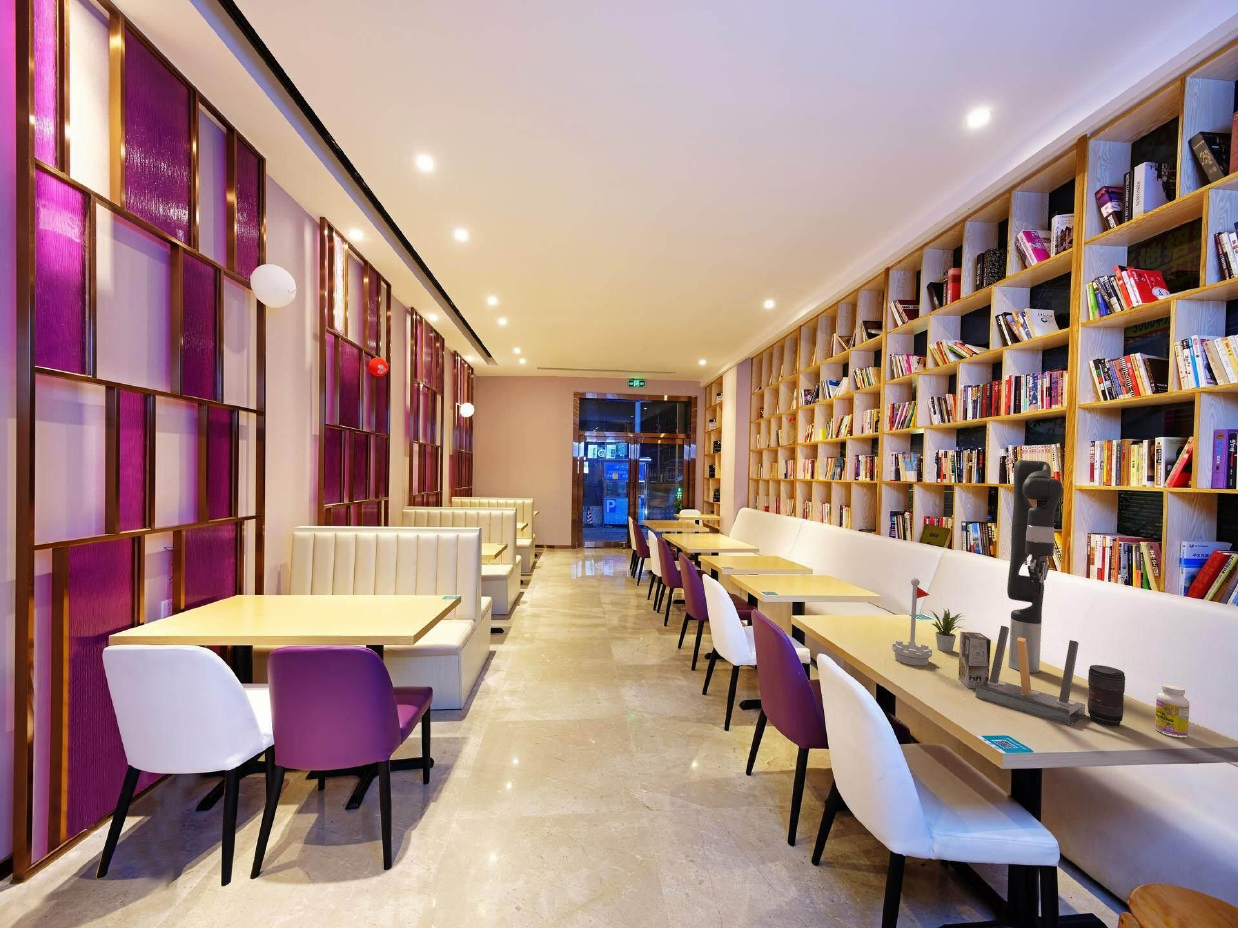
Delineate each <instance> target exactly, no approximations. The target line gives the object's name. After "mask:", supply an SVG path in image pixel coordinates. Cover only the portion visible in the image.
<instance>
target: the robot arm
mask: <svg viewBox="0 0 1238 928" xmlns="http://www.w3.org/2000/svg"><path fill="white" fill-rule="evenodd" d="M1063 487H1064V486H1063V483H1062V482H1061V481H1060V480H1059V479H1057V478H1052V469H1051V466H1050V464H1049V463H1048V462H1047V461H1044V460H1043V461H1042V460H1029V459H1028V460H1025V459H1019V460H1017V461H1016V462H1015V464H1014V468H1013V510H1012V519H1011V533H1010V534H1011V535H1010V536H1011V539H1010V541H1011V542H1010V544H1011V545H1010V560H1009V561H1010V562H1009V569H1008V576H1007V588H1006V589H1007V597H1008V598H1009V599H1010V600H1011V601H1016V602H1017V601H1019V602H1025V603H1026V602H1027V603H1031V605H1030V606H1028V607H1025V608H1019V609H1013V610H1011V612H1010V628H1009V646H1008V650H1009V651H1008V667H1009V668H1011V669H1012V670H1016V671H1020V667H1019V657H1018V648H1017V639H1018V638H1019V637H1021V638H1025V639H1026V644H1027V654H1028V664H1029V673H1032V674H1033V673H1040V663H1041V647H1042V646H1041V641H1042V622H1043V621H1042V619H1043V618H1042V617H1043V614H1042V613H1043V604H1044V603H1043V602H1044V593H1045V581H1046V579H1047V576H1048V573H1049V569H1050V564H1049V562H1048V560H1047V557H1053V556H1054V553H1055V528H1054V527H1055V515H1056V511H1057V510H1056V509H1057V507H1058V503H1059V501H1060V499H1061V496H1062V494H1063V489H1064V488H1063ZM1030 500H1033V501H1047V503H1046V504H1045V505H1042V506H1036V507H1034V506H1033V505H1032V504H1031V502H1030ZM1030 555H1031V558H1030V559H1031V560H1029V565H1027V572H1028V575H1023V574H1022V575H1020V571H1021V568H1022V566H1023V564H1024V563H1025V562H1026V561H1027V559H1028V558H1029V556H1030Z"/></svg>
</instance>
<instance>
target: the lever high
mask: <svg viewBox="0 0 1238 928" xmlns="http://www.w3.org/2000/svg"><path fill="white" fill-rule="evenodd" d="M1078 649H1079V642H1078V641H1077V640H1072V639H1069V643H1068V647H1067V654H1066V657H1065V664H1064V665H1065V666H1064V670H1063V675H1062V681H1061V682H1062V683H1061V687H1060V692H1059V696H1058V697H1059V700H1057V705H1061V706H1064V707H1068V708H1069V707H1070V703H1068V702H1069V700H1070V697H1071V691H1072V690H1071V689H1072V686H1073V685H1072V684H1073V678H1074V672H1075V666H1076V661H1077V654H1078Z"/></svg>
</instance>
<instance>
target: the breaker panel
mask: <svg viewBox="0 0 1238 928" xmlns="http://www.w3.org/2000/svg"><path fill="white" fill-rule="evenodd" d="M998 683H999V687H998V688H997V687H993V686H990V685H988V684H987V682H986V683H984V684H982V685H978V687H976V689H975V698H976V699H977V698H978V699H981V700H984V701H987V702H990V703H994V704H997V705H1000V706H1004V707H1008V708H1010V709H1014V710H1016V711H1017V710H1018V711H1021V712H1024V713H1028V714H1030V715H1034V716H1038V717H1041V718H1044V719H1048V720H1050V721H1054V722H1058V723H1061V724H1064V725H1067V726H1071V725H1072V724H1074V723H1075V722H1077V721H1078V720H1079V719H1081V718H1082V717H1083V716H1085V714H1086V704H1085V703H1083V702H1078V701H1075V700H1071V699H1069V702H1068V703H1070V707H1069V708H1068V707H1064V706H1061V705H1057V700H1059V697H1060V696H1056V695H1053V694H1050V693H1046V692H1042V691H1038V690H1035V689H1032V688H1031V692H1032V693H1033V697H1029V696H1025V695H1022V694H1021V690H1022V686H1020V685H1016V684H1013V683H1009V682H1007V681H1003V680H999V681H998Z"/></svg>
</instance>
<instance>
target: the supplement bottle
mask: <svg viewBox="0 0 1238 928" xmlns="http://www.w3.org/2000/svg"><path fill="white" fill-rule="evenodd" d="M1161 690H1162V692H1159V693H1157V695H1156V700H1155V702H1156V703H1155V705H1156V706H1155V720H1154V721H1155V722H1154V729H1155V731H1157V730H1159V731H1160V732H1164V733H1166V734H1172V735H1177V736H1187V737H1188V736H1189V721H1190V720H1189V719H1190V717H1189V716H1190V701H1189V700H1188V699H1187V698H1186V697H1184V696H1185V694H1186V689H1185V688H1184V687H1183V686H1180V685H1176V684H1171V683H1163V684H1161ZM1160 732H1159V733H1160Z"/></svg>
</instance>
